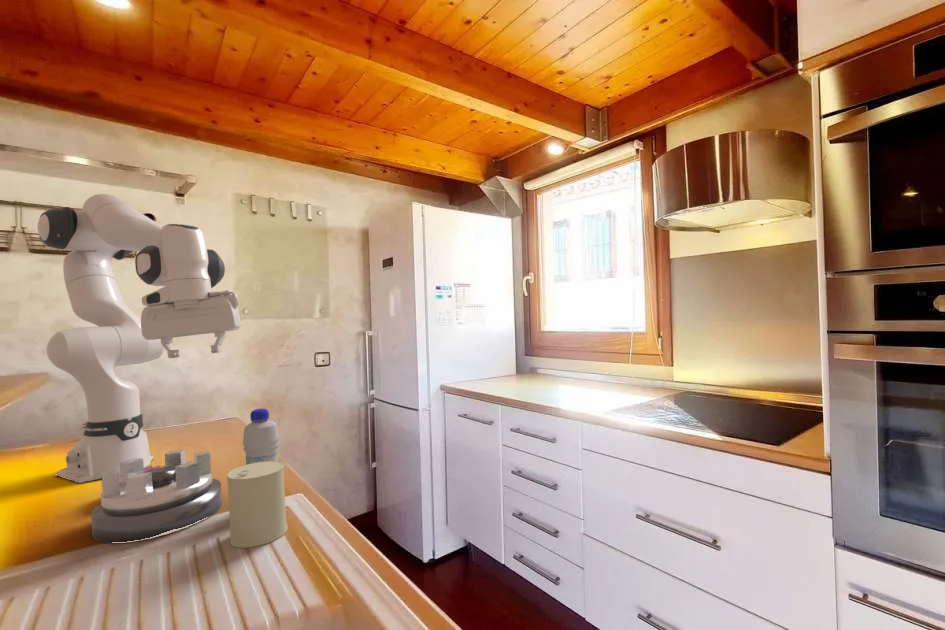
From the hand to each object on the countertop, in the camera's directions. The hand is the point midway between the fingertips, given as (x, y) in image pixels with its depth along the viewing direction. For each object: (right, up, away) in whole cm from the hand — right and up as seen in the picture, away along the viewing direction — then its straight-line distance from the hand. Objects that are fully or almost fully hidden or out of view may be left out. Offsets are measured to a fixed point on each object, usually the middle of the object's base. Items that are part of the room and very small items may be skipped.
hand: (195, 355), depth 101 cm
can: (+25, -30, -22) cm, 45 cm away
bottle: (+20, -30, -10) cm, 38 cm away
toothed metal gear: (+1, -27, -12) cm, 29 cm away
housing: (+1, -31, -12) cm, 33 cm away
